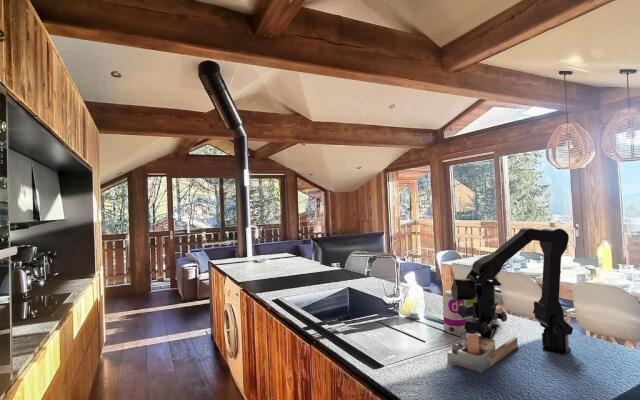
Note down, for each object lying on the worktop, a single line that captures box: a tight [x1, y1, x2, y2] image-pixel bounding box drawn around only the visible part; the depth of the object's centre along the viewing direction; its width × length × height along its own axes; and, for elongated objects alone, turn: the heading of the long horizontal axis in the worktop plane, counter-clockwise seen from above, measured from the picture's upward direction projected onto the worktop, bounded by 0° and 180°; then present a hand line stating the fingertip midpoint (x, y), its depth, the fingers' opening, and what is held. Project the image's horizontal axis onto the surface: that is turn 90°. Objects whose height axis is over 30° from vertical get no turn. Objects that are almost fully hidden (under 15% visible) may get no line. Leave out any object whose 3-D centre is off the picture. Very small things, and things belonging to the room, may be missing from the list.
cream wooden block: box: [462, 336, 496, 354], centre depth 115 cm, size 7×7×5 cm
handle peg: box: [466, 333, 479, 355], centre depth 109 cm, size 3×3×6 cm
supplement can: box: [442, 289, 468, 335], centre depth 139 cm, size 8×8×15 cm
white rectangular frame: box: [446, 342, 492, 374], centre depth 111 cm, size 11×7×5 cm, turn 42°
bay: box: [461, 333, 519, 367], centre depth 119 cm, size 11×21×3 cm, turn 132°
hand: (487, 346), depth 119 cm, fingers closed
